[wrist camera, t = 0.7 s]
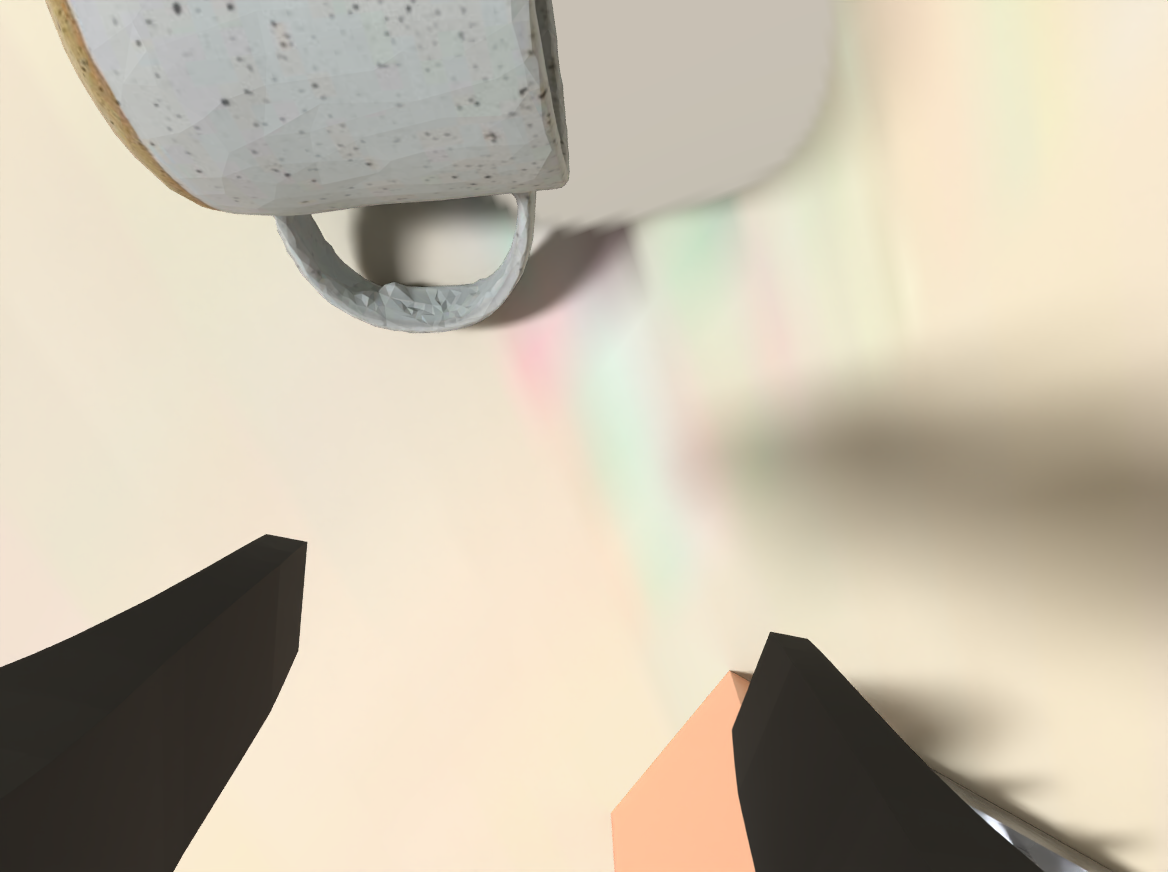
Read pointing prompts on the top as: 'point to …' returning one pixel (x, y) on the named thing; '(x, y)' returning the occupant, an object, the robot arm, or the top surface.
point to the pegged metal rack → (1027, 836)
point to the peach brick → (688, 798)
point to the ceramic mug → (336, 119)
